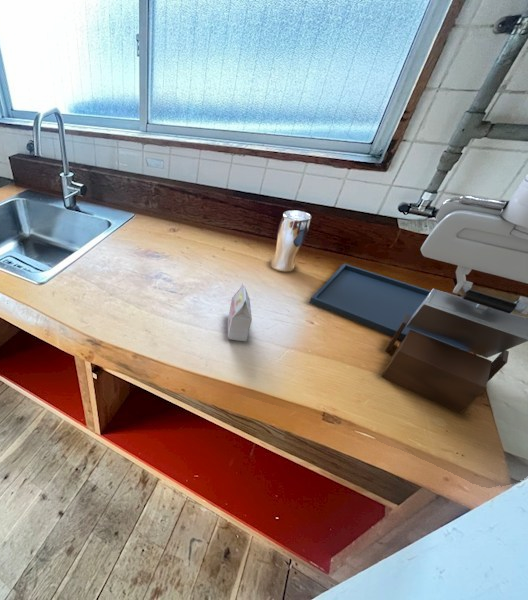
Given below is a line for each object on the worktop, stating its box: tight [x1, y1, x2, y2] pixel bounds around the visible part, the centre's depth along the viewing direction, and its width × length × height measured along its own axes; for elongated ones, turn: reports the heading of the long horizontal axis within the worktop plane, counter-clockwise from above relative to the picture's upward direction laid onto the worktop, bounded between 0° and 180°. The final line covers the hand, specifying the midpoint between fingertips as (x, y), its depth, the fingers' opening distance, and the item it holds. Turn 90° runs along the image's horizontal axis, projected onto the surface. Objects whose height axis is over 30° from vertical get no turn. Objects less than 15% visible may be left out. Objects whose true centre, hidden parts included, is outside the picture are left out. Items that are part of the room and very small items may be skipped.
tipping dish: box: [406, 288, 528, 359], centre depth 53 cm, size 12×19×3 cm
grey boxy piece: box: [227, 283, 253, 342], centre depth 67 cm, size 4×7×10 cm, turn 166°
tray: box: [308, 263, 468, 352], centre depth 74 cm, size 28×22×2 cm
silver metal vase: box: [270, 209, 312, 273], centre depth 85 cm, size 7×7×15 cm
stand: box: [381, 315, 510, 415], centre depth 56 cm, size 14×11×8 cm
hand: (487, 301), depth 47 cm, fingers closed on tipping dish, 5 cm apart
